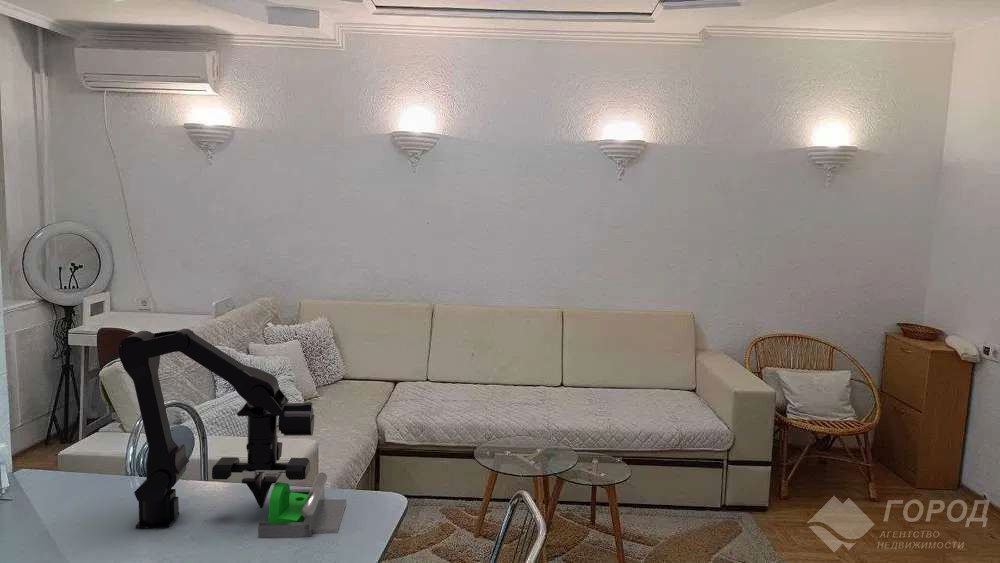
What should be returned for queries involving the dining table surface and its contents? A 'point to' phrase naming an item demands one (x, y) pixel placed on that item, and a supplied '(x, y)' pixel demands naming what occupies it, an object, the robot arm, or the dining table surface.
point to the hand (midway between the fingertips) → (261, 507)
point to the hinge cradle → (309, 514)
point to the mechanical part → (285, 505)
